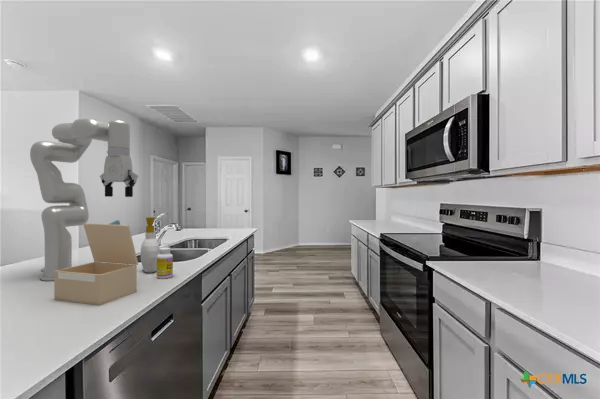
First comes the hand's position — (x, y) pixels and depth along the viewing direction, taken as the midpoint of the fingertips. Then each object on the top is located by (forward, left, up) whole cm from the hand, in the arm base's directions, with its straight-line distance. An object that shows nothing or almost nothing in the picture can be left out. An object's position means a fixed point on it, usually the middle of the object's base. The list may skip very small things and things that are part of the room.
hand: (118, 196), depth 126 cm
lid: (0, -4, -18) cm, 19 cm away
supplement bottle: (+6, +19, -36) cm, 41 cm away
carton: (0, -10, -36) cm, 37 cm away
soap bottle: (-8, +27, -36) cm, 46 cm away
